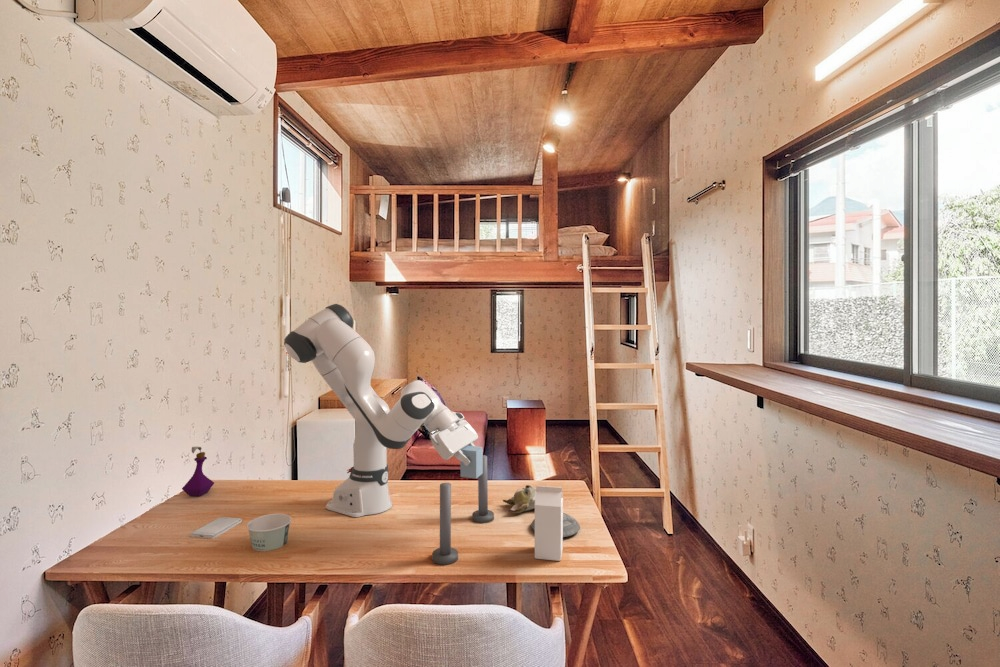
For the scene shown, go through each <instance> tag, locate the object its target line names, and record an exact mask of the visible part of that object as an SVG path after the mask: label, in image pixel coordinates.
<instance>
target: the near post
mask: <svg viewBox="0 0 1000 667" xmlns="http://www.w3.org/2000/svg"><path fill="white" fill-rule="evenodd" d="M451 533H452V484H451V483H449V482H441V483H440V484H439V547H438V548H436V549H433V551H432V555H431V556H432V558H431V560H432V562H433V563H434V564H436V565H440V566H449V565H452V564H455V563H456V562H457V561H458V560H459V551H458V550H457V549H456V548H454V547H452V543H451V542H452V538H451V537H452V534H451Z"/></svg>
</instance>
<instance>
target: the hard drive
mask: <svg viewBox="0 0 1000 667" xmlns="http://www.w3.org/2000/svg"><path fill="white" fill-rule="evenodd" d="M242 522H243V519H242V518H239V517H228V516H219V517H217V518H215V519H214V520H212V521H210V522H208V523H206V524H205V525H203V526H200V528H199V527H198V528H197V529H196V530H194V531H192V532H190V533H189V538H190V537H192V538H203V539H212V540H213V539H215V538H217V537H219V536H220V535H222V534H224V533H225V532H227V531H229V530H230V529H232V528H234V527H236V526H237V525H239V524H241V523H242Z"/></svg>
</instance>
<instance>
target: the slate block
mask: <svg viewBox="0 0 1000 667" xmlns="http://www.w3.org/2000/svg"><path fill="white" fill-rule="evenodd" d="M483 448H484V447H483V446H478V445H477V446H476V445H475V446H468V445H467V446H466V447H464V448H462V449H461V451H462V452H463V454H464V455H465V456H466V457H469V458H470V459H471V463H470V464H469V465H467V466H466V465H465V464H464V463H463V462H462V461H460V460H459V463H460V465H459V466H460V467H459V468H460V477H461V478H468V479H474V480H475V479H478V477H479V476H480V475H481V474H483V455H484V454H483V453H484V449H483Z"/></svg>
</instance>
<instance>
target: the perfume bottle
mask: <svg viewBox="0 0 1000 667" xmlns="http://www.w3.org/2000/svg"><path fill="white" fill-rule="evenodd" d="M196 450H199V452H198V453H197V454H195V455H196V457H195V458H193V460H194V461H195V463H196V466H195V469H194V472H193V474H192V476H191V477H190V479H189V480H188V481H187V482H186V483H185V484H184V486H182V487H181V490H182V491H183V492H185V493H186V494H187V496H189V497H202V496H204V495H205V494H208V493H209V492H210V490H211V489H212V488H213V486H214V484H215V482H214V481H213V480H211V479H210V478H209V477H208V476H206V475H205V474H204V473H203V464H204V462H205V461H206V460H207V459H208V458H207V456H206V452H205V451H202V446H192V447H191V453H192V454H194V453H195V452H196Z"/></svg>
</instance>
